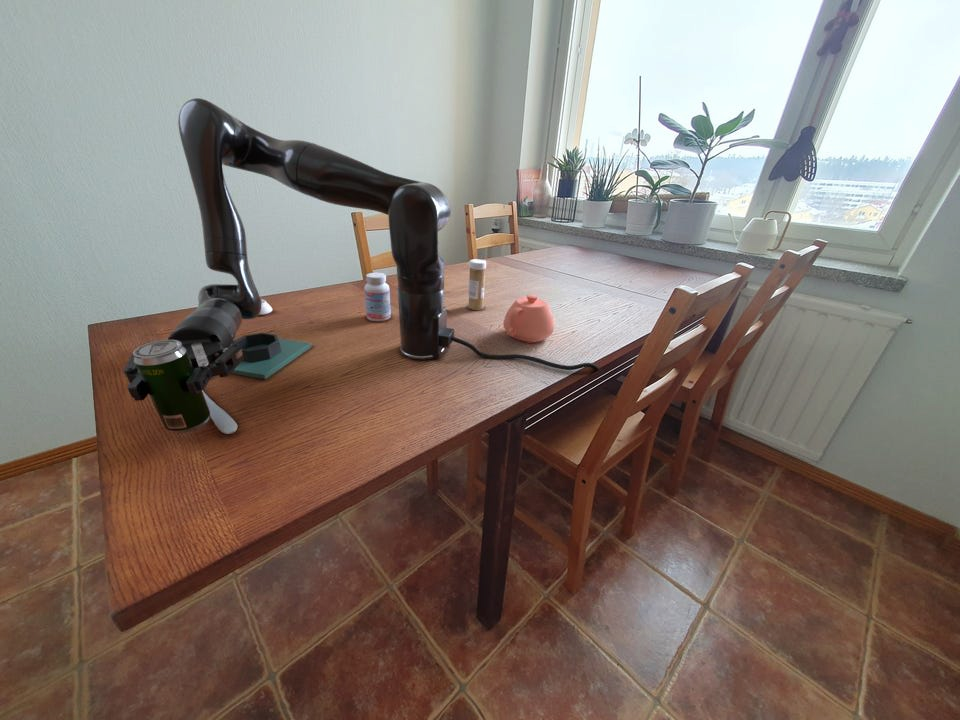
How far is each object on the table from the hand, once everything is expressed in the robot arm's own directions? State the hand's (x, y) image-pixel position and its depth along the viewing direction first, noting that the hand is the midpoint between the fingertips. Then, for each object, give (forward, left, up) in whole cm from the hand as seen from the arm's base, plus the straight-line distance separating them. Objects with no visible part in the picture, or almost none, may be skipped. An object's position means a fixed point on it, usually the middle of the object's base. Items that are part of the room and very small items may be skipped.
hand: (164, 391), depth 48 cm
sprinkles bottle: (-26, -68, -10) cm, 73 cm away
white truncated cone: (+25, -45, -9) cm, 53 cm away
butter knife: (+8, -10, -9) cm, 16 cm away
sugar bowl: (-42, -53, -9) cm, 68 cm away
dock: (+9, -25, -9) cm, 28 cm away
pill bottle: (-4, -52, -9) cm, 53 cm away
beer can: (+1, -2, -7) cm, 8 cm away
